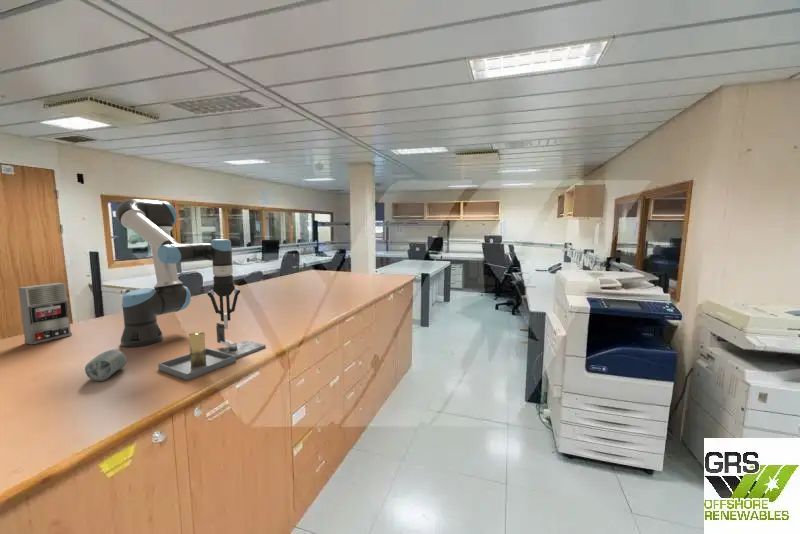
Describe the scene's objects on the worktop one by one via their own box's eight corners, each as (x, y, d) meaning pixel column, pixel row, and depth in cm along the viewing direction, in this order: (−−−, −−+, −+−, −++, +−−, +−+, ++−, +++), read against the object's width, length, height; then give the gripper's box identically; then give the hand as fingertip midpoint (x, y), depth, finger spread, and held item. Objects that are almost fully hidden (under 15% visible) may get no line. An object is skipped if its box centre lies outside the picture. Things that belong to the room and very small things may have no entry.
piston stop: (187, 365, 126) (185, 334, 124) (201, 360, 130) (199, 330, 128) (196, 368, 123) (194, 336, 122) (209, 363, 128) (207, 332, 126)
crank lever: (238, 347, 142) (237, 326, 141) (231, 350, 139) (230, 328, 138) (221, 341, 149) (220, 321, 148) (214, 344, 146) (213, 323, 145)
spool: (112, 374, 111) (99, 347, 112) (83, 389, 110) (70, 362, 110) (139, 367, 125) (127, 343, 125) (113, 380, 123) (101, 356, 124)
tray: (158, 370, 122) (158, 363, 122) (207, 353, 139) (207, 347, 139) (187, 381, 114) (186, 374, 114) (235, 362, 131) (235, 355, 131)
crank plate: (213, 354, 138) (213, 351, 138) (247, 342, 152) (247, 339, 152) (232, 360, 133) (232, 356, 133) (265, 347, 147) (265, 344, 147)
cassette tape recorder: (32, 345, 146) (25, 288, 143) (24, 343, 148) (17, 287, 145) (72, 335, 159) (66, 283, 156) (64, 334, 161) (59, 282, 158)
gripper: (205, 277, 138) (208, 332, 141) (240, 275, 144) (242, 328, 147) (206, 274, 145) (209, 327, 148) (239, 273, 151) (242, 323, 154)
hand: (226, 327), depth 148 cm, fingers closed
